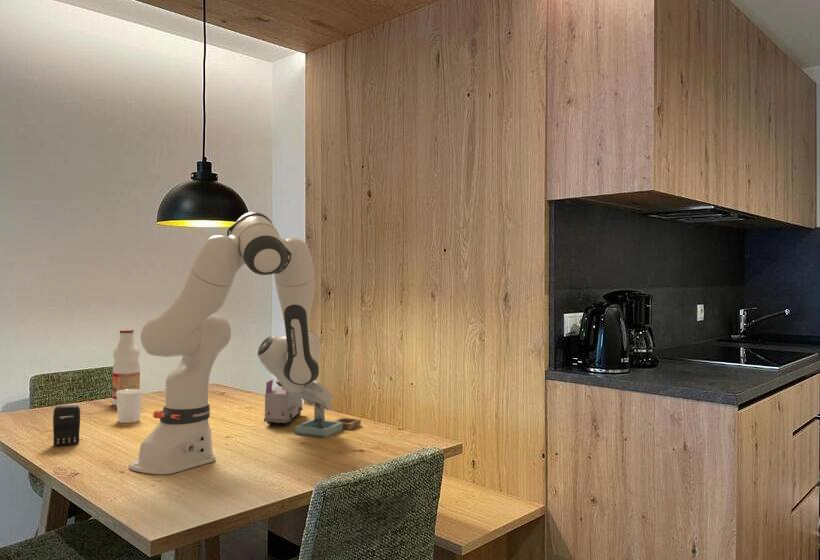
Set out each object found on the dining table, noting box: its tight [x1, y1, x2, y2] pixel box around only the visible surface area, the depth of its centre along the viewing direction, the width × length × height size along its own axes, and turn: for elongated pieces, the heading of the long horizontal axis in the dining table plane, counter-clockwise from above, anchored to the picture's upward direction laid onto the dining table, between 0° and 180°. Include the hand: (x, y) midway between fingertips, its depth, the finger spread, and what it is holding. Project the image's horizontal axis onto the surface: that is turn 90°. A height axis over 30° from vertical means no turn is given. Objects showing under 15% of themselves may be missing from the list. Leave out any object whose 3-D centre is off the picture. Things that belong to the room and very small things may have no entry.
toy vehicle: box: [263, 379, 303, 426], centre depth 220 cm, size 9×20×15 cm, turn 174°
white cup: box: [116, 389, 143, 424], centre depth 216 cm, size 8×8×10 cm
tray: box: [294, 418, 344, 439], centre depth 206 cm, size 11×11×2 cm
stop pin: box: [313, 402, 326, 429], centre depth 205 cm, size 4×4×11 cm
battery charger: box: [52, 403, 81, 447], centre depth 185 cm, size 7×4×11 cm, turn 118°
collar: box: [334, 417, 362, 431], centre depth 213 cm, size 7×7×2 cm
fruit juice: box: [111, 328, 141, 407], centre depth 242 cm, size 9×9×28 cm
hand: (321, 405), depth 206 cm, fingers open, 8 cm apart
